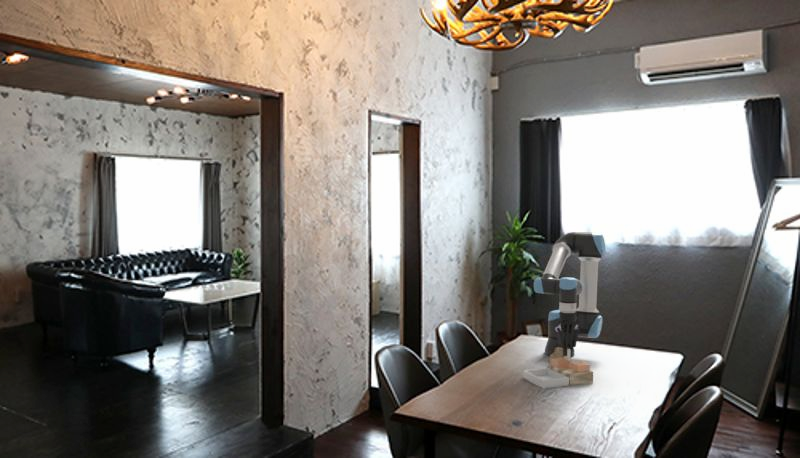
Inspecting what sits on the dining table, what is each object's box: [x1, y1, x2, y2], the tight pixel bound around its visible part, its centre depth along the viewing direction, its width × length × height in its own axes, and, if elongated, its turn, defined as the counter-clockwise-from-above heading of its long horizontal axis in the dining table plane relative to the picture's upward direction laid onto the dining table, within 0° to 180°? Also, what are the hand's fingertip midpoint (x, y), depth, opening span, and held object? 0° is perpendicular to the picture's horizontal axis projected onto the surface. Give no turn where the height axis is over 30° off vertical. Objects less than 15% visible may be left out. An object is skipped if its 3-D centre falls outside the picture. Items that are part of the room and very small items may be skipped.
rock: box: [548, 347, 564, 366], centre depth 275 cm, size 11×12×10 cm
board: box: [548, 364, 594, 386], centre depth 260 cm, size 16×12×5 cm
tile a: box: [551, 358, 571, 369], centre depth 262 cm, size 6×6×3 cm
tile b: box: [570, 360, 591, 372], centre depth 256 cm, size 6×6×3 cm
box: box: [522, 367, 570, 390], centre depth 255 cm, size 16×13×4 cm
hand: (567, 362), depth 263 cm, fingers closed
